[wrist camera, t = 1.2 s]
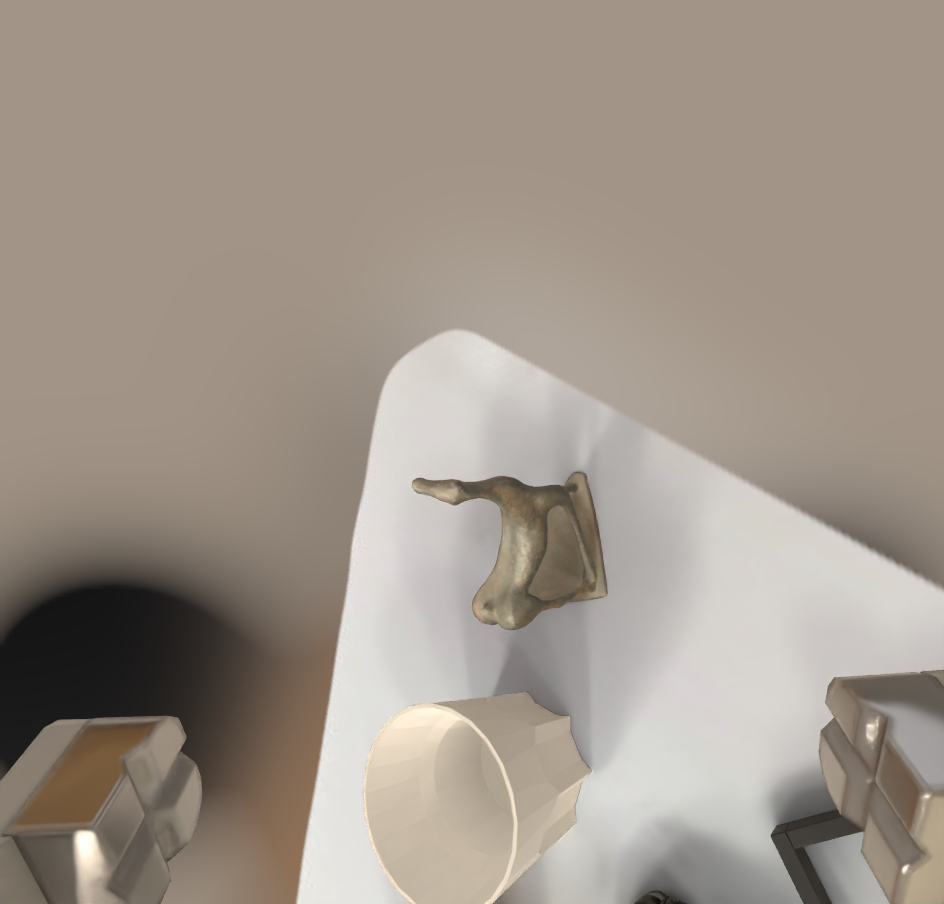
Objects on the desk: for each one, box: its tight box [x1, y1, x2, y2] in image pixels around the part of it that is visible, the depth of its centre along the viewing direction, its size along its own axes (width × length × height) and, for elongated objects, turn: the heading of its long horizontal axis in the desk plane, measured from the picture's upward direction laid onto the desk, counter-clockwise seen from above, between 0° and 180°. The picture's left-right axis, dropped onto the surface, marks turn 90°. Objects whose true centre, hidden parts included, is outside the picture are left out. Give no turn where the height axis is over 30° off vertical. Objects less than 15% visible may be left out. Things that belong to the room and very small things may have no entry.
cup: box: [363, 692, 592, 904], centre depth 37 cm, size 10×10×10 cm
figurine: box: [412, 472, 607, 630], centre depth 36 cm, size 11×6×15 cm, turn 143°
